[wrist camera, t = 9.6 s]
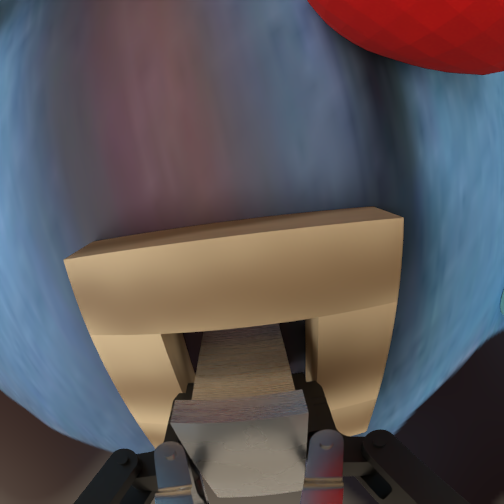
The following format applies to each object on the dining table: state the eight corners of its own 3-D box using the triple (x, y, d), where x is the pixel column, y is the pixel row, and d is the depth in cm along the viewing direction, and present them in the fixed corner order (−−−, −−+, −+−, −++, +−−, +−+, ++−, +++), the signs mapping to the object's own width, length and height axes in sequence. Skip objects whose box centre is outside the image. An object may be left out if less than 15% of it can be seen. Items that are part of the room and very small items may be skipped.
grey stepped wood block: (198, 305, 14) (170, 423, 6) (276, 296, 14) (308, 412, 6) (221, 396, 16) (218, 497, 9) (283, 390, 16) (302, 490, 9)
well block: (93, 241, 13) (63, 259, 10) (373, 206, 13) (403, 217, 10) (164, 423, 17) (158, 452, 15) (354, 403, 18) (365, 431, 15)
